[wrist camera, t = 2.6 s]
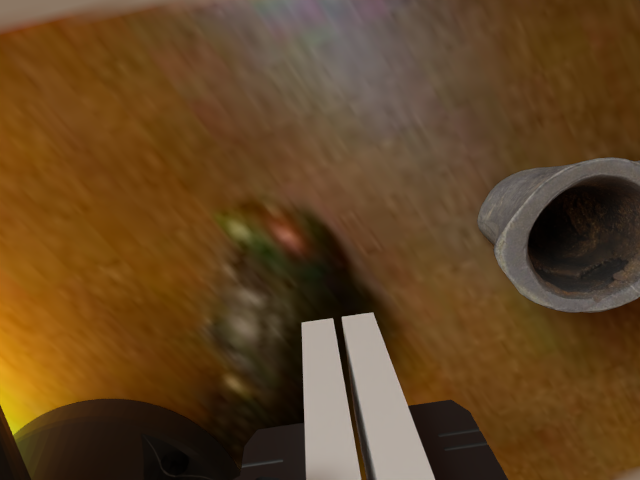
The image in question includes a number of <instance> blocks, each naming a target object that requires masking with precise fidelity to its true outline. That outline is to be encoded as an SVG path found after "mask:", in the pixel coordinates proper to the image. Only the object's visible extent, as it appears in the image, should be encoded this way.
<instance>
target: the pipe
mask: <svg viewBox="0 0 640 480" xmlns="http://www.w3.org/2000/svg"><path fill="white" fill-rule="evenodd" d="M477 221H478V226H479V229H480V231H481V232H482V233H483V234H484V235H485V236H486V238H487V239H488V240H489V241H490V242H491V243H493V244H494V245H495V246H494V253H495V257H496V259H497V261H498V264H499V266H500V268H501V269H502V270H503V271H504V273H505V274H506V275H507V277H508V278H509V279H510V281H511V282H512V283H513V285H514V286H515V287H516V288H517V290H518V291H519V292H520V293H521V294H522V295H523V296H525V297H526V298H528V299H529V300H531V301H533V302H535V303H537V304H540V305H542V306H544V307H547V308H551V309H554V310H558V311H563V312H574V313H577V312H589V313H590V312H602V311H606V310H610V309H613V308H616V307H619V306H622V305H625V304H627V303H629V302H631V301H633V300H635V299H637V298H639V297H640V161H637V162H634V161H630V160H627V159H621V158H598V159H593V160H588V161H583V162H580V163H576V164H571V165H565V166H557V167H547V168H535V169H529V170H524V171H521V172H518V173H515V174H512V175H511V176H509V177H507V178H505V179H504V180H502V181H501V182H499V183H498V184H497V185H496V186H495V187H494V188H493V189H492V190H491V192H490V193H489V194H488V196H487V198H486V199H485V201H484V203H483V205H482V207H481V209H480V212H479V216H478V220H477Z"/></svg>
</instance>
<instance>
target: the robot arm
mask: <svg viewBox="0 0 640 480" xmlns="http://www.w3.org/2000/svg"><path fill="white" fill-rule="evenodd" d="M342 323H343V330H344V338H345V345H346V353H347V360H348V368H349V375H350V383H351V390H352V397H353V405H354V412H355V419H356V425H357V430H358V435H359V440H360V446H361V451H362V456H363V461H364V467H365V472H366V477H367V480H508V478H507V477H506V475H505V473H504V471H503V470H502V468H501V466H500V464H499V463H498V461H497V459H496V457H495V456H494V454H493V452H492V450H491V449H490V447H489V445H487V441H486V440H485V438H484V436H483V434H482V433H481V431H479V427H478V426H477V424H476V422H475V420H474V419H473V417H472V415H471V413H470V412H469V411H468V410H466V409H465V408H463V407H461V406H460V405H458V404H457V403H455V402H454V401H452V400H446V401H439V402H432V403H425V404H418V405H411V406H408V405H407V403H406V400H405V397H404V395H403V392H402V389H401V387H400V384H399V381H398V379H397V376H396V373H395V371H394V368H393V365H392V362H391V360H390V357H389V354H388V352H387V349H386V346H385V344H384V341H383V338H382V336H381V333H380V330H379V328H378V325H377V322H376V320H375V317H374V314H373V313H366V314H359V315H352V316H345V317H342ZM302 351H303V386H304V421H305V423H300V424H293V425H286V426H279V427H272V428H265V429H258V430H257V431H256V432H255V433H254V435H253V436H252V437H251V438H250V440H249V441H248V442H247V444H246V445H245V446H244V452H243V458H242V468H241V472H240V471H239V469H238V468H237V466H236V464H235V463H234V461H233V460H232V458H231V457H230V456H229V454H228V453H227V452H226V450H225V449H224V448H223V447H222V446H221V445H220V444H219V443H218V442H217V441H216V440H215V439H214V438H213V437H212V436H211V435H210V434H209V433H207V432H206V431H205V430H203V429H202V428H201V427H199V426H198V425H196V424H195V423H193V422H192V421H190V420H188V419H187V418H185V417H183V416H181V415H179V414H177V413H175V412H172V411H170V410H167V409H165V408H162V407H159V406H156V405H152V404H148V403H144V402H139V401H133V400H124V399H96V400H88V401H82V402H77V403H73V404H69V405H66V406H62V407H59V408H57V409H54V410H52V411H49V412H47V413H45V414H43V415H41V416H39V417H38V418H36V419H34V420H33V421H31V422H30V423H28V424H27V425H25V426H24V427H23V428H21V429H20V430H19V431H18V432H17V433H15V434H14V435H13V434H12V432H11V430H10V427H9V425H8V422H7V420H6V418H5V415H4V413H3V411H2V408H1V406H0V480H361V475H360V470H359V464H358V458H357V453H356V447H355V441H354V436H353V430H352V424H351V418H350V413H349V407H348V401H347V396H346V390H345V384H344V379H343V373H342V367H341V362H340V356H339V350H338V344H337V339H336V333H335V327H334V322H333V318H331V319H324V320H317V321H310V322H303V323H302Z"/></svg>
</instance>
